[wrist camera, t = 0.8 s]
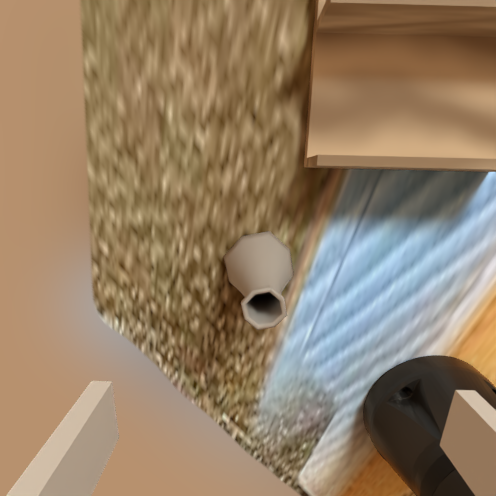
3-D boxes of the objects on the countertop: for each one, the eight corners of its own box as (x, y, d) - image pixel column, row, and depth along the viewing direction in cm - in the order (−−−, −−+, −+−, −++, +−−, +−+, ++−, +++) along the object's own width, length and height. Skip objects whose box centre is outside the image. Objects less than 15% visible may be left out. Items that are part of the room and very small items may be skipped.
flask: (245, 307, 30) (244, 369, 20) (211, 252, 28) (193, 291, 19) (304, 277, 29) (332, 327, 19) (272, 218, 28) (286, 241, 18)
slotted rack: (489, 171, 26) (546, 170, 21) (303, 167, 26) (316, 165, 21) (562, -130, 21) (663, -228, 16) (325, -136, 21) (350, -237, 16)
